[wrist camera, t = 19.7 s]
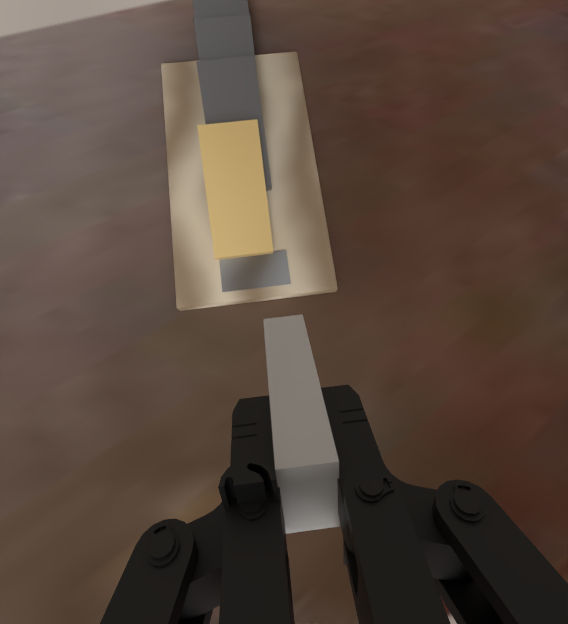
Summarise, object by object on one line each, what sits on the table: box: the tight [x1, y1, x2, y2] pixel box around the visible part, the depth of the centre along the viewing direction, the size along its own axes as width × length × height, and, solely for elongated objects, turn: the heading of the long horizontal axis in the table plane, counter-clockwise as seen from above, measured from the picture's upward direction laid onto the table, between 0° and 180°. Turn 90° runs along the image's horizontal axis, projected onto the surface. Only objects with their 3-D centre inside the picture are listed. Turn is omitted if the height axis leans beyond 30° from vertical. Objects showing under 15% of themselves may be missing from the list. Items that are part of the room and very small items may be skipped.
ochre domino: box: [197, 119, 273, 260], centre depth 32 cm, size 5×2×11 cm
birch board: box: [161, 51, 338, 311], centre depth 36 cm, size 14×26×1 cm, turn 7°
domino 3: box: [196, 55, 272, 191], centre depth 34 cm, size 5×2×11 cm
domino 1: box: [192, 0, 249, 19], centre depth 36 cm, size 5×2×11 cm
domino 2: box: [194, 14, 258, 78], centre depth 35 cm, size 5×2×11 cm
